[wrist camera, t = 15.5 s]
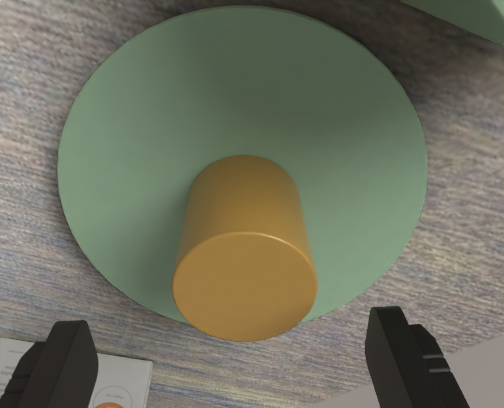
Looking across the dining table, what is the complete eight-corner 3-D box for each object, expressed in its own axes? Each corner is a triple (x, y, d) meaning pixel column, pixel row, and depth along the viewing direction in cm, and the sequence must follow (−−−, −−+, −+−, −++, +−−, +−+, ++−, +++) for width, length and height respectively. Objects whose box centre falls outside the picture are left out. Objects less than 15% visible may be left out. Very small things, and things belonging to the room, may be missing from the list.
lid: (109, 319, 22) (68, 440, 17) (17, 13, 15) (-108, 59, 9) (394, 306, 22) (442, 423, 17) (449, -9, 15) (565, 24, 9)
